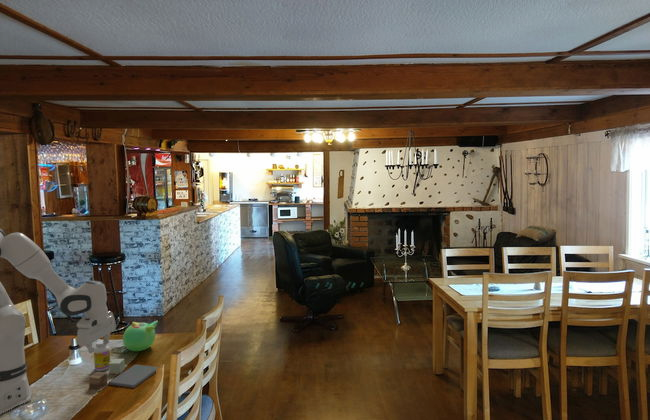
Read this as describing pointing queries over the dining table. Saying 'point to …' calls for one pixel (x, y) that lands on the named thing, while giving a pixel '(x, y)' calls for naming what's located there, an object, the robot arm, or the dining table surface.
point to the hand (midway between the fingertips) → (99, 347)
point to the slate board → (133, 376)
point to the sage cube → (117, 366)
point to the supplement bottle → (101, 356)
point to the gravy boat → (139, 336)
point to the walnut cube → (98, 380)
